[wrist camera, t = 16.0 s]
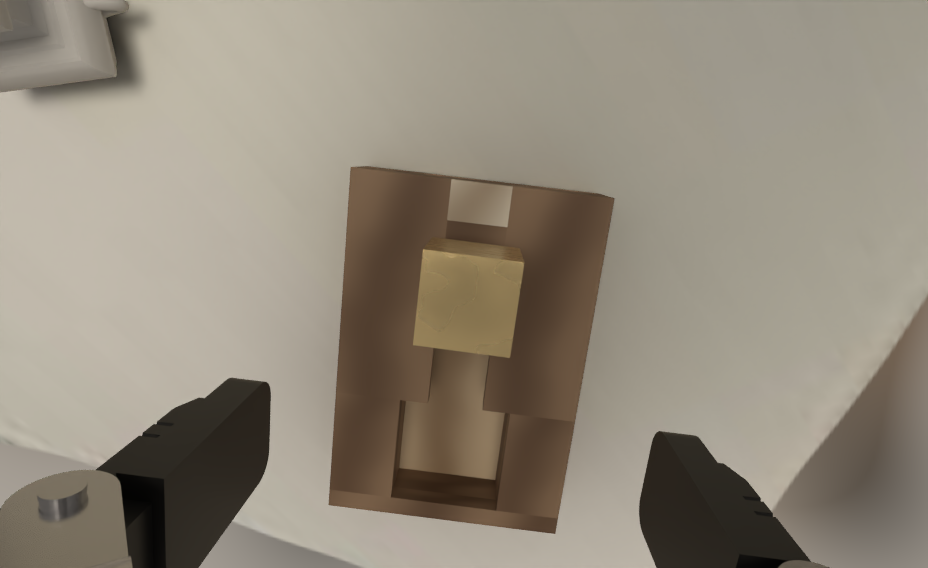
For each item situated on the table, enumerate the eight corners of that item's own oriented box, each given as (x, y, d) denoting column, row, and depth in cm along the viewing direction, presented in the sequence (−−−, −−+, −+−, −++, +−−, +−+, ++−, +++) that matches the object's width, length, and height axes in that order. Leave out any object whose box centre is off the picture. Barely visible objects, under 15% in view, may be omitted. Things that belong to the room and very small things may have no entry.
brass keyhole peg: (518, 229, 30) (530, 258, 21) (507, 305, 31) (513, 363, 22) (439, 219, 30) (418, 243, 21) (430, 295, 31) (407, 349, 22)
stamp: (15, 102, 30) (-161, 81, 22) (-24, -27, 29) (-227, -102, 21) (168, 80, 30) (46, 49, 21) (136, -54, 28) (-7, -141, 20)
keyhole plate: (598, 193, 30) (615, 198, 26) (547, 493, 34) (555, 536, 30) (367, 166, 30) (349, 167, 26) (345, 467, 34) (327, 507, 31)
